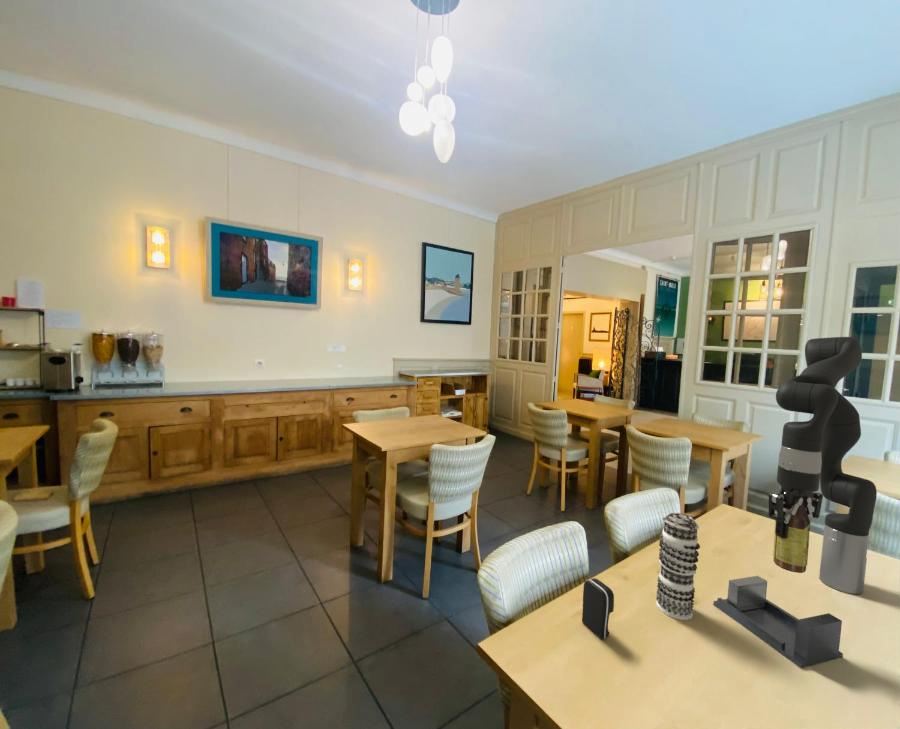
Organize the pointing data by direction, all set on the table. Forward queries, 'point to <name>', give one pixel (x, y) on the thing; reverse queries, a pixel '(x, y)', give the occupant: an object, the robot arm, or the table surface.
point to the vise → (791, 632)
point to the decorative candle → (677, 566)
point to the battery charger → (597, 606)
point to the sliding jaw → (747, 593)
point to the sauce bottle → (794, 541)
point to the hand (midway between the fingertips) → (791, 535)
